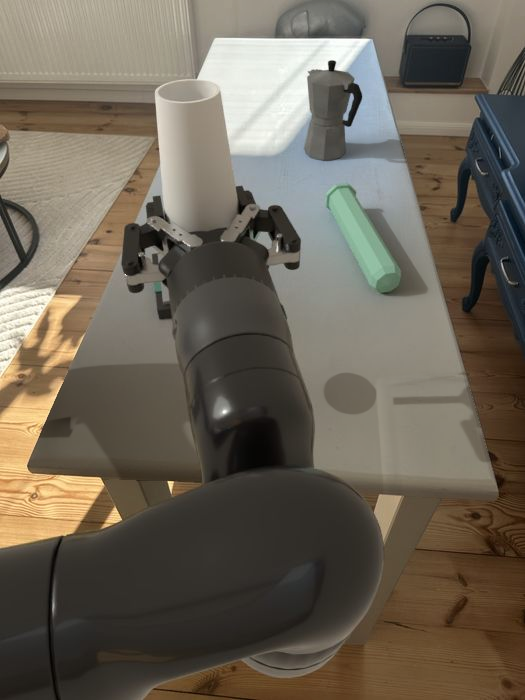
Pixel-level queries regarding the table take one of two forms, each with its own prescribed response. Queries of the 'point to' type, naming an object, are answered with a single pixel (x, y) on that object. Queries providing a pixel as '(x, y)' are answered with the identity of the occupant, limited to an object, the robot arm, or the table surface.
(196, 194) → the champagne flute
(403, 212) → the table surface
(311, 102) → the coffeepot
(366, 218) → the container
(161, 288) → the scale
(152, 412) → the table surface
